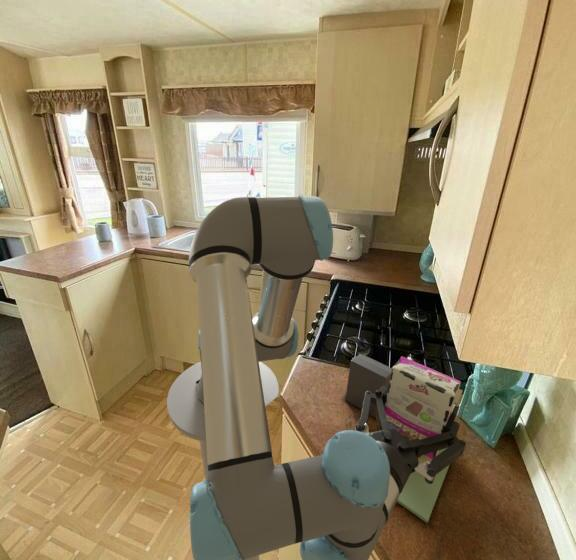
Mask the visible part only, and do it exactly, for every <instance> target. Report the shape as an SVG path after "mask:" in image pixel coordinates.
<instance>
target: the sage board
mask: <svg viewBox="0 0 576 560" xmlns="http://www.w3.org/2000/svg"><path fill="white" fill-rule="evenodd" d="M446 449H447V448H445V449H442V450H441V452H443V451H444V450H446ZM441 452H440V453H441ZM449 467H450V465H448V466H447V467H446V468H444V469H443V470H442V471H440V472H439V473H438V474H436V476H435V478H434V481H433V483H432V484H428V483H427V482H426V481H425V477H424V476H423V475H421V474H420V473H418V472H416V471H415V472H413V473H411V474H410V476H409V478H408V480H407V482H406V484H405V486H404V488H403V490H402V492H401V494H400V495H399V498H398V500H397V502H396V503H398V504H399V505H401V506H402V507H403V508H405V509H406V510H408V511H409V512H410V513H412V514H414V515H415V516H416V517H417V518H418V519H420V520H422V521H423V522H424V523H426V524H428V523H429V520H430V517H431V515H432V511H433V510H434V507H435V505H436V501H437V499H438V496H439V494H440V492H441V488H442V486H443V483H444V481H445V478H446V475H447V473H448V470H449Z"/></svg>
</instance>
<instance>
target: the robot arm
mask: <svg viewBox="0 0 576 560" xmlns="http://www.w3.org/2000/svg"><path fill="white" fill-rule="evenodd" d="M333 248H334V230H333V222H332V219H331V215H330V211H329V208H328V206H327V204H326V202H325V201H324V200H323V199H322V198H321V197H318V196H315V195H302V194H298V195H297V196H296V195H294V196H291V195H290V196H289V195H287V196H286V195H285V196H237V197H233V198H229V199H227V200H225V201H223V202H221V203H220V204H218V205H217V206H215V207H214V208H213V209H212V210H211V211H209V213H208V214H207V215H206V216H205V217H204V219H203V220H202V221H201V222H200V224H199V226H198V228H197V230H196V231H195V234H194V236H193V238H192V240H191V244H190V248H189V255H188V272H189V273H188V274H189V277H190V279H191V280H192V281H193V282H194V283H196V287H197V288H196V291H197V292H196V293H197V306H198V308H197V309H198V323H199V324H198V325H199V330H198V332H197V340H198V341H197V347H198V349H199V357H200V362H201V368H202V374H201V379H200V380H198V381H196V384H198V383H199V384H198V398H199V400H200V402H201V403H202V404H203V405H204V410H205V427H206V444H207V460H208V477H207V480H206V479H205V478H204V480H203V481H201V482H200V481H199V482H198V483H195V485H194V486H193V487H192V489H191V491H190V498H189V499H190V500H189V510H190V512H189V513H190V514H189V515H190V516H189V528H190V529H189V531H190V532H189V533H190V548H191V552H192V553H191V554H192V558H193V560H245V559H248V558H251V557H254V556H257V555H259V556H261V555H263V554H267V553H270V552H273V551H276V550H279V549H283V548H286V547H289V546H292V545H296V544H299V543H300V544H299V554H300V557H301V560H369V559H370V557H371V555H372V553H373V551H374V550H375V548H376V547H375V546H376V545H377V543H378V540H379V538H380V536H381V533H382V531H383V530H384V527H385V526H386V524H387V522H388V520H389V518H390V516H391V514H392V512H393V510H394V508H395V507H396V504H397V503H398V502H397V500H398V498H399V495H400V494H401V492H402V490H403V488H404V486H405V484H406V482H407V480H408V478H409V476H410V474H411V473H413V472H415V471H416V472H418V473H420V474H421V475H423V476H424V477H425V481H426V482H427V483H428V484H432V483H433V481H434V478H435V476H436V474H438V473H439V472H440V471H442V470H443V469H444V468H446V467H447V466H448V465H449V466H450V465H451V464H452V463H454V462H455V461H457V460H458V459H459V458H460V457H462V456H463V454H464V452H465V449H466V446H467V442H466V441H465V440H463V439H459V437H457V435H458V432H459V430H460V427H461V425H460V423H459V422H457V421H455V420H456V418H457V415H458V412H459V410H460V406H459V405H458V406H456V405H455V406H454V409H453V411H452V413H451V415H450V417H449V420H448V422H447V424H446V426H445V429H444V432H443V433H442V434H438V435H434V436H431V437H427V438H424V439H419V438H417V439H413V440H410V438H408V437H406V436H404V435H401V434H400V433H399V432H397V431H396V430H394V429H390V428H389V424H388V421H387V419H386V414H385V409H384V405H385V403H386V397H387V392H388V388H389V386H388V387H386V386H382V387H381V389H380V390H376V393H375V394H373V393H372V392H371V391H369V390H367V391H366V392H365V397H364V403H363V408H362V409H361V414H360V418H359V420H358V421H357V422H356V423H355V428H354V429H344V430H340V431H338V432H336V433H335V434H334V435H333V436H331V437H330V438H329V439H328V440H327V442H326V443H325V446H324V448H323V451H322V454H320V455H315V456H311V457H306V458H302V459H297V460H292V461H288V462H284V463H279V464H275V462H274V458H273V457H274V456H273V451H272V449H273V448H272V443H271V436H270V429H269V423H268V415H267V409H266V408H267V407H265V401H264V395H263V388H262V381H261V374H260V367H259V362H267V361H271V360H272V361H274V360H283V359H284V360H285V359H286V358H290V357H292V356H294V355H295V354H296V352H297V350H298V347H299V342H298V341H299V328H298V325H297V322H296V320H295V319H294V318H293V314H294V310H295V307H296V302H297V300H298V295H299V292H300V289H301V285H302V281H303V279H304V278H305V277H307V276H308V275H309V274H311V272H312V271H313V269H314V266H315V265H316V261H320V262H321V261H324V260H327V259H329V258H330V257H331V255H332V253H333ZM252 265H258V266H259V268H260V269H261V270H262V275H261V284H260V291H259V301H258V308H257V309H258V311H257V312H256V313H255V314H254V315H253V314H252V307H251V299H250V294H249V286H248V280H247V279H248V277H249V276H250V274H251V272H252ZM370 403H373V404H374V409H375V414H376V417H375V419H376V425H377V430H376V431H372V432H370V431H369V430H370V427H369V425H368V418H369V407H370ZM445 448H447V449H446V450H444V451H443V452H441V453H440V454H439V455H437V456H436V457H434V458H433V459H432V461H431V462H430V461H427V462H425V463H423V464H420V463H419V461H418V458H419V457H420V456H422V455H425V454H428V453H431V452H435V451H438V450H442V449H445Z"/></svg>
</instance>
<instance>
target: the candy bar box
mask: <svg viewBox="0 0 576 560" xmlns="http://www.w3.org/2000/svg"><path fill="white" fill-rule="evenodd" d="M391 368H392V372H391V377H390V382H389V388H388V392H387V397H386V403H385V408H384V409H385V414H386V419H387V421H388V424H389V428H390V429H394V430H396V431H397V432H399V433H400V434H401V435H404V436H406V437H408V438H410V440H413V439H417V438H419V439H424V438H427V437H431V436H434V435H438V434H442V433H443V432H444V429H445V426H446V424H447V422H448V420H449V417H450V415H451V412H452V409H453V406H454V403H455V400H456V396H457V393H458V390H459V389H460V387H461V384H462V383H461V382H462V381H461V380H459V379H457V378H454V377H451V376H450V375H447V374H444V373H442V372H439V371H438V370H435V369H433V368H430V367H428V366H426V365H424V364H422V363H419V362H417V361H414V360H411V359H409V358H407V357H405V356H400V358H399V359H398V361H397V362H396V363H395V364H394V365H393V366H392V367H391ZM438 451H439V450H438ZM438 451H435V452H431V453H428V454H425V455H426V456H427V457H429V458H431V459H433V458H434V457H436V455H437V453H438Z"/></svg>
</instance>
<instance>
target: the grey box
mask: <svg viewBox="0 0 576 560" xmlns="http://www.w3.org/2000/svg"><path fill="white" fill-rule="evenodd" d="M392 368H393V367H389V366H388V365H386V364H384V363H382V362H379V361H378V360H375V359H373V358H371V357H369V356H367V355H365V354H362V353H359V354H358V355H357V356H356V355H355V356H354V357H352V359H351V360H350V364H349V371H348V378H347V385H346V392H345V399H344V400H345V401H347V402H348V403H350V404H351V405H353V406H355V407H357V408H359V410H362V408H363V403H364V397H365V392H366V391H367V390H369V391H371V392H372V393H373V394H375V393H376V390H380V389H381V387H382V386H386V387H388V386H389V382H390V377H391V372H392ZM384 408H385V405H384ZM368 415H370V416H372V417H374V418H376V414H375V409H374V404H373V403H370V407H369V413H368Z"/></svg>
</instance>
